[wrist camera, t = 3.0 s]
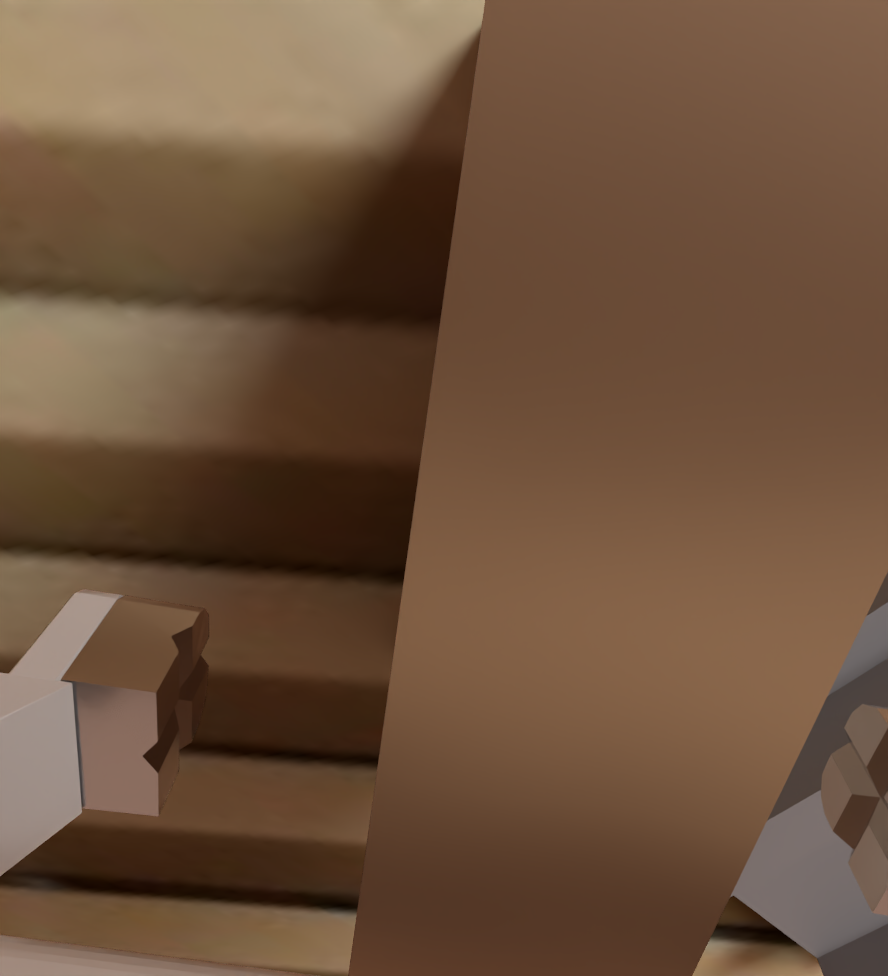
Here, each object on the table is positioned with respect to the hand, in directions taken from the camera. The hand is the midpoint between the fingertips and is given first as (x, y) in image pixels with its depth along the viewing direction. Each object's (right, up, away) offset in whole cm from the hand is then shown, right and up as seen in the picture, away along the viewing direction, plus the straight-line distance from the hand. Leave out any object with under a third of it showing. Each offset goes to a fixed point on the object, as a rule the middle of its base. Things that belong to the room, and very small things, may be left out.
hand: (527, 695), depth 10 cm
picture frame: (+1, +4, +7) cm, 8 cm away
